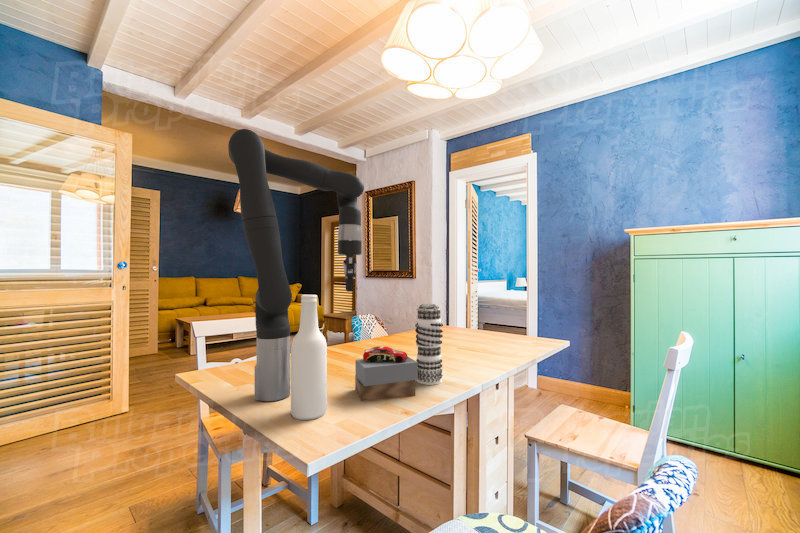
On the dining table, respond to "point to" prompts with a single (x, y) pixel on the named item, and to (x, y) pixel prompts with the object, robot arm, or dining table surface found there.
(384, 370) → the top block
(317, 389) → the white bottle
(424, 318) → the decorative candle
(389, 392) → the bottom block
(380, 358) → the race car
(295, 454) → the dining table surface
